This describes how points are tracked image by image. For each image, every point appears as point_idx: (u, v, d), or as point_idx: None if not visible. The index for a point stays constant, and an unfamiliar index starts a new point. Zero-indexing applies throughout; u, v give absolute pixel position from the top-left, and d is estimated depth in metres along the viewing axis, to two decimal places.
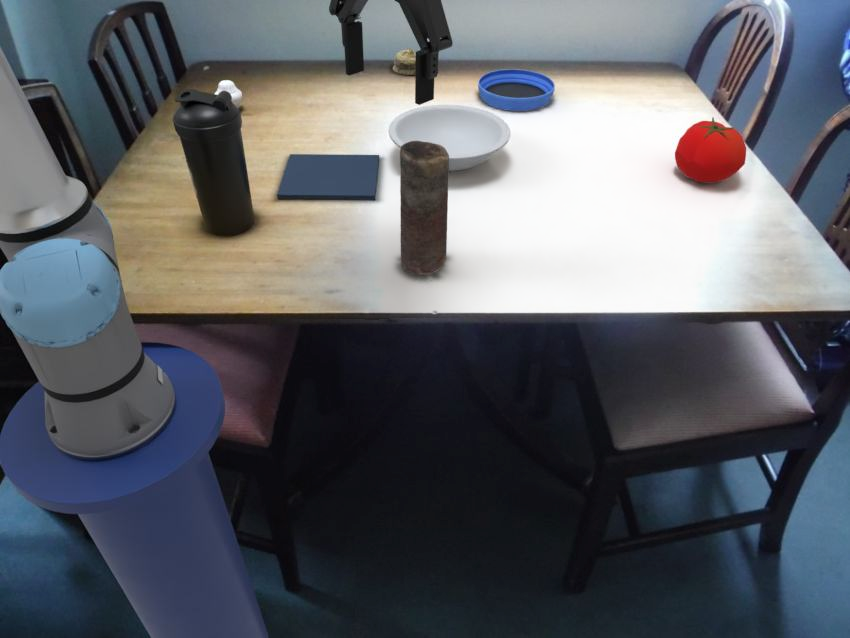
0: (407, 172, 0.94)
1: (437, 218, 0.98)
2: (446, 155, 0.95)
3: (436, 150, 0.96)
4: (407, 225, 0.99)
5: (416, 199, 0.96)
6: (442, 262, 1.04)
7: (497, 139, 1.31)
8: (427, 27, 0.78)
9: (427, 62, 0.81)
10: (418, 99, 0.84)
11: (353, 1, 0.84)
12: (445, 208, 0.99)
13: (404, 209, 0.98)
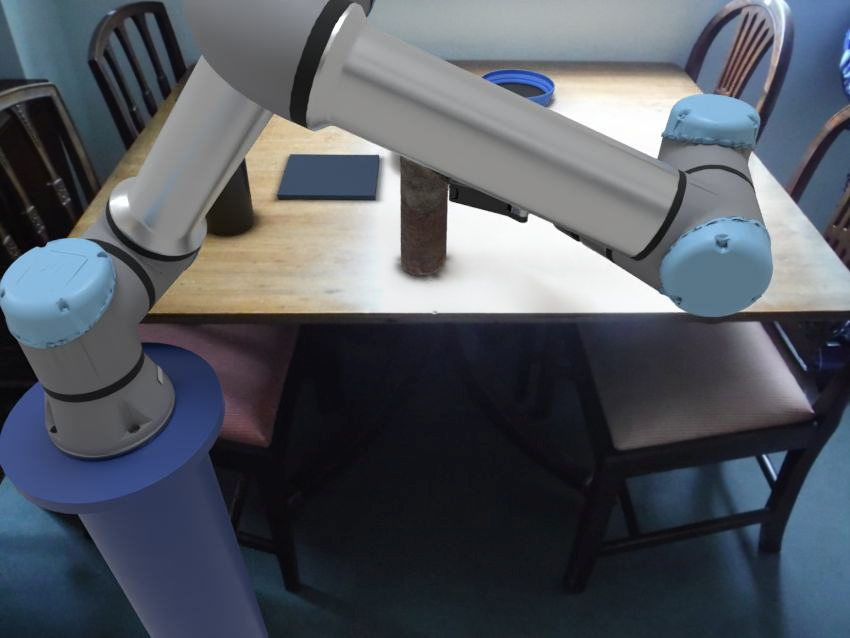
0: (407, 172, 0.94)
1: (437, 218, 0.98)
2: None
3: None
4: (407, 225, 0.99)
5: (416, 199, 0.96)
6: (442, 262, 1.04)
7: None
8: None
9: None
10: None
11: None
12: (445, 208, 0.99)
13: (404, 209, 0.98)
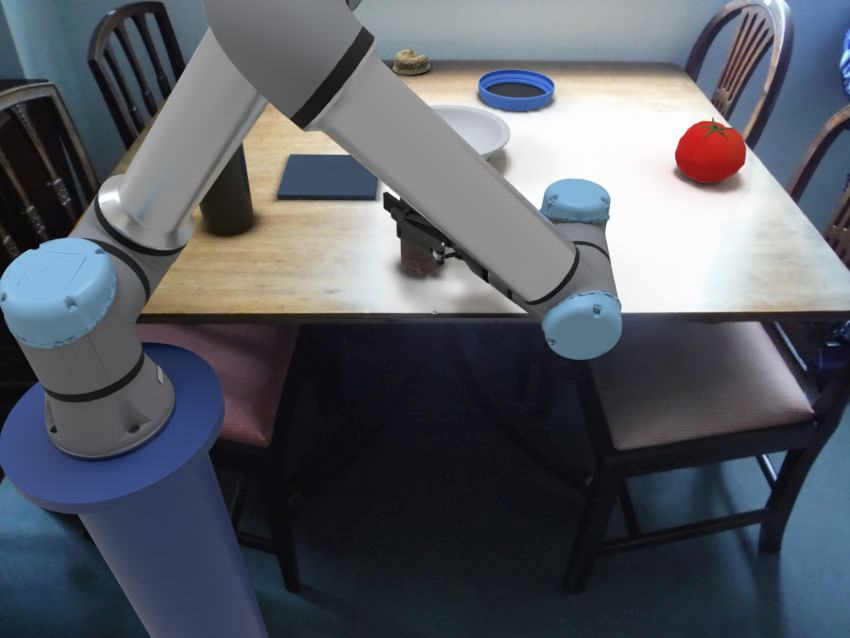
0: None
1: None
2: None
3: None
4: None
5: None
6: None
7: (497, 139, 1.31)
8: (413, 227, 0.93)
9: (400, 213, 0.97)
10: (386, 194, 0.99)
11: None
12: None
13: None
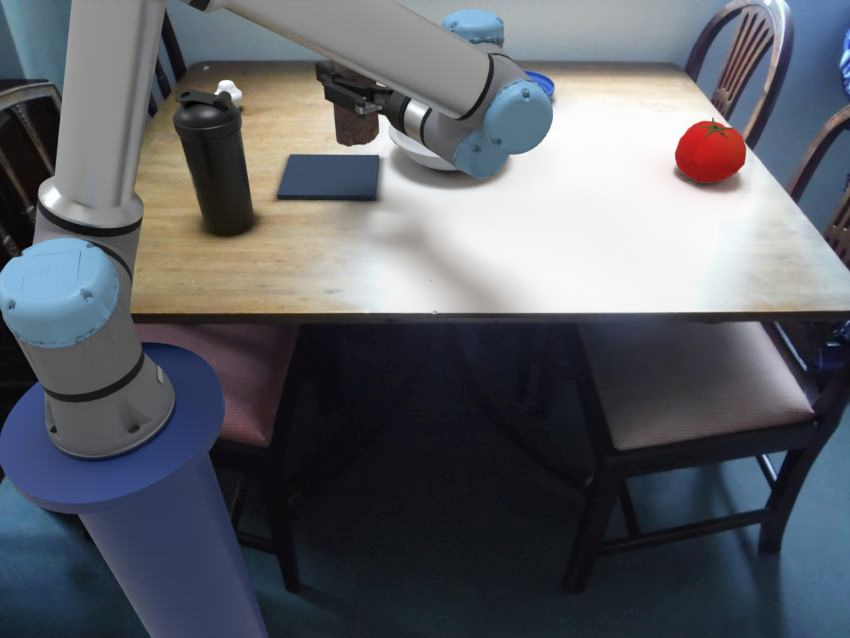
0: None
1: None
2: None
3: None
4: None
5: None
6: (374, 134, 1.09)
7: None
8: (338, 86, 0.98)
9: (329, 78, 1.01)
10: (318, 63, 1.04)
11: None
12: None
13: None
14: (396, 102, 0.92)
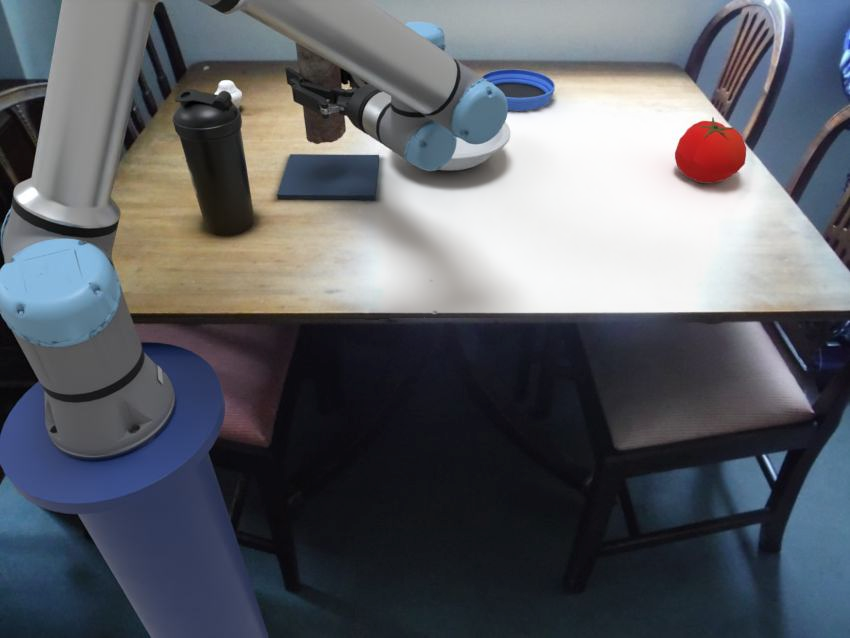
0: None
1: None
2: None
3: None
4: None
5: (309, 69, 1.11)
6: (340, 133, 1.20)
7: (497, 139, 1.31)
8: (305, 89, 1.08)
9: (297, 82, 1.12)
10: (288, 69, 1.15)
11: (354, 78, 1.12)
12: (337, 80, 1.14)
13: None
14: (355, 103, 1.03)
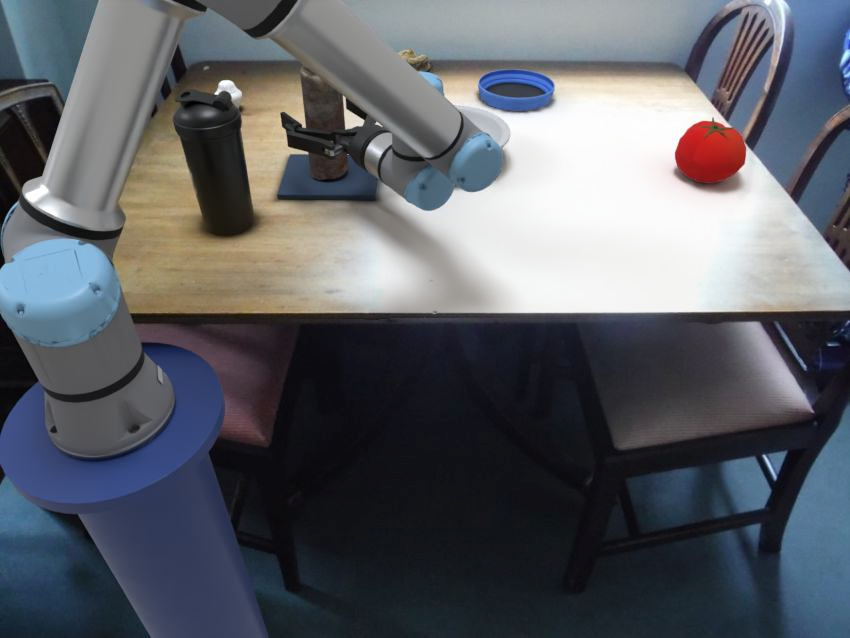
0: (305, 87, 1.14)
1: (334, 128, 1.18)
2: None
3: None
4: None
5: (315, 110, 1.16)
6: (343, 169, 1.25)
7: (497, 139, 1.31)
8: (302, 134, 1.11)
9: (292, 127, 1.14)
10: (283, 113, 1.17)
11: (367, 115, 1.17)
12: (341, 120, 1.19)
13: (307, 121, 1.18)
14: (358, 144, 1.07)
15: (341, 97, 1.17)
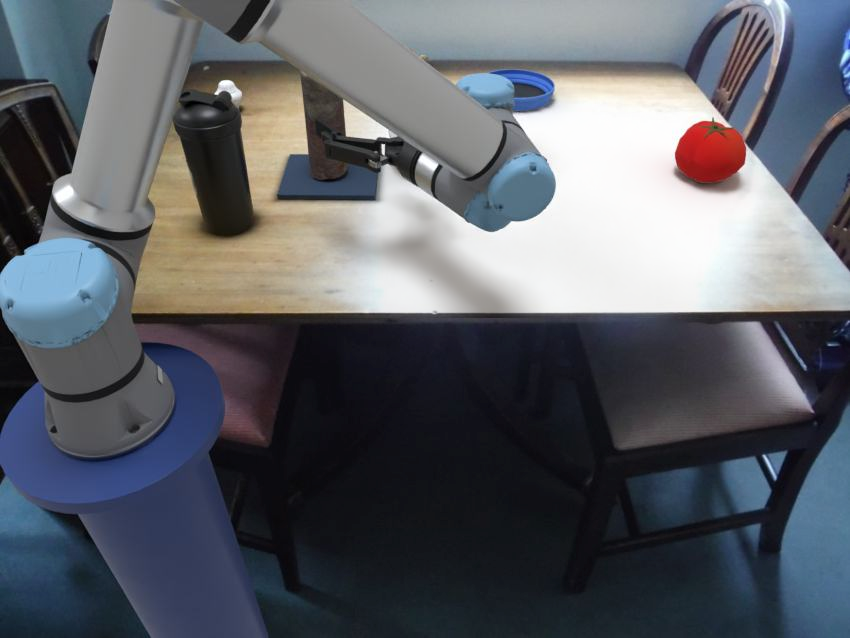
0: (305, 87, 1.14)
1: None
2: None
3: None
4: (310, 135, 1.20)
5: (315, 110, 1.16)
6: (343, 169, 1.25)
7: None
8: (342, 144, 0.98)
9: (329, 136, 1.01)
10: (318, 119, 1.04)
11: None
12: (341, 120, 1.19)
13: (307, 121, 1.18)
14: (407, 155, 0.95)
15: None
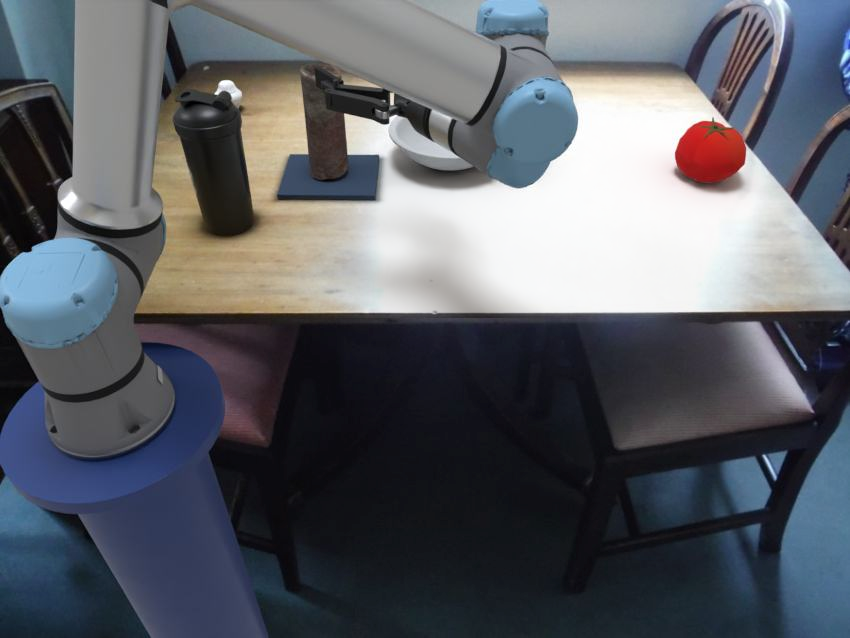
0: (305, 87, 1.14)
1: (334, 128, 1.18)
2: (338, 74, 1.15)
3: (331, 70, 1.16)
4: (310, 135, 1.20)
5: (315, 110, 1.16)
6: (343, 169, 1.25)
7: None
8: (345, 92, 0.86)
9: (330, 85, 0.89)
10: (318, 68, 0.92)
11: None
12: (341, 120, 1.19)
13: (307, 121, 1.18)
14: None
15: None
